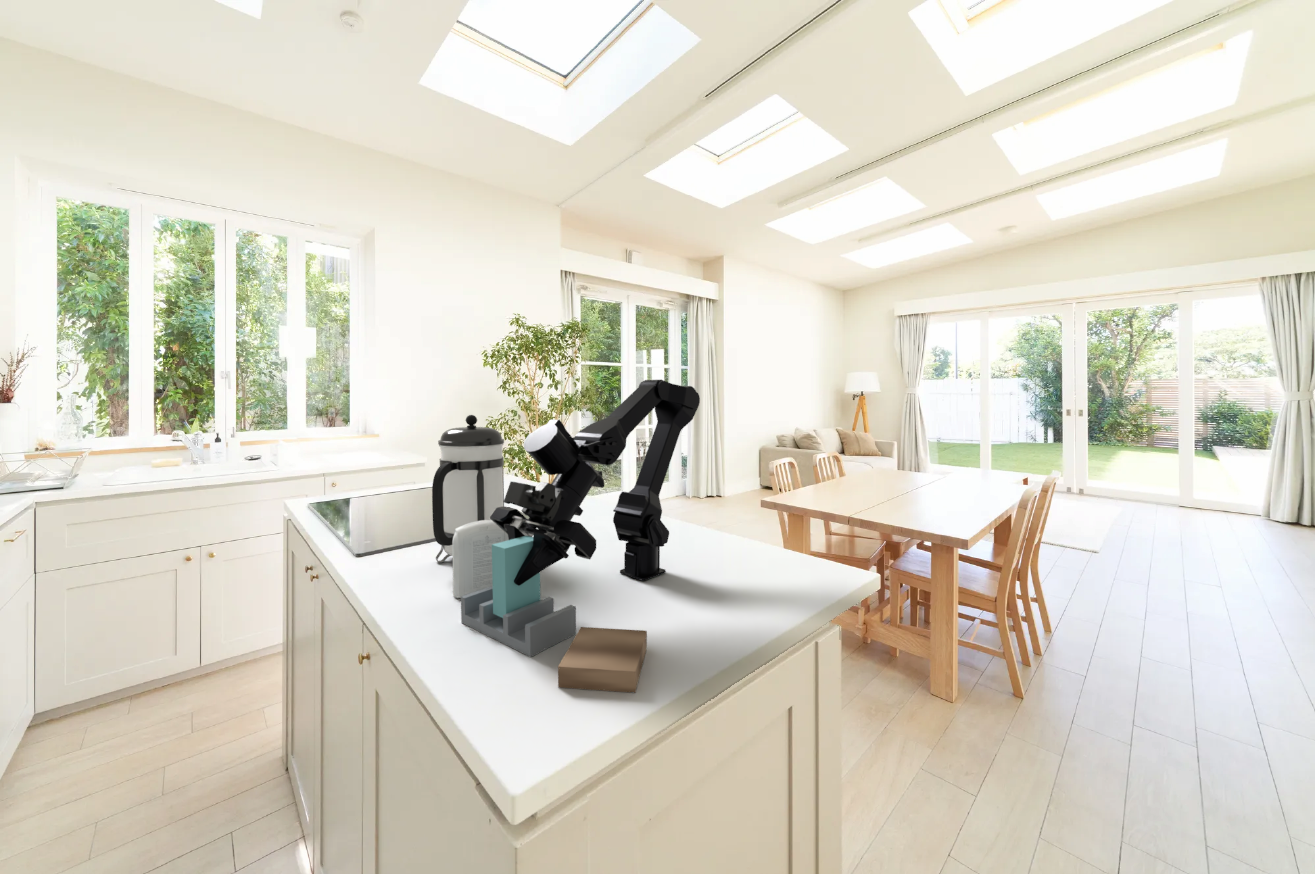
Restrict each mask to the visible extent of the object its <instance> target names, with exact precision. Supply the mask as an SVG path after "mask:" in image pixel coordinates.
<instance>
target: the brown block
mask: <svg viewBox="0 0 1315 874" xmlns="http://www.w3.org/2000/svg"><path fill="white" fill-rule="evenodd" d="M647 633H648V631H647V630H643V629H642V630H641V629H623V628H607V627H606V628H604V627H589V626H588V627H587V626H580V628H579V629H578V632H576V634H575V635H574V636H575V637H574V638H573V640H572V642H571V643H570V645H569V647H568V648H567V650H566V652H565V654H564V655H563V657H562V658H561V661H560V662H559V664H558V666H557V679H558V681H557V683H558V684H557V687H558V688H561V689H562V688H563V689H564V688H565V689H577V690H579V689H580V690H588V691H589V690H591V691H604V692H617V693H618V692H619V693H620V692H621V693H631V692H634V693H633V694H636V691H637V688H638V683H639V680H640V676H641V672H642V668H643V665H644V661H645V656H646V653H647V649H648V647H647V646H648V642H647V641H648V639H647V638H648V636H647V635H648V634H647Z"/></svg>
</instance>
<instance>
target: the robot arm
mask: <svg viewBox="0 0 1315 874" xmlns="http://www.w3.org/2000/svg"><path fill="white" fill-rule="evenodd" d="M700 401H701V399H700V395H699V393H698V392H697V390H696V389H695V388H694V387H693V386H691V385H679V384H676V383H670V382H668V381H666V380H663V379H645V380H643V381H641V382H640V383H639V384H638V387H637V388H636V389H635V390H634V391H633V392H632V393H631V394H630V395H629V396H628V397H627V398H626V399H624V401H622V402H621V403H620V405H618V406H617V407H616V408H615V409H614V410H613V411H612V412H611V413H610V414H608V416H607V417H605V418H603V419H601V420H598V421H596V422H593V423H590V424H589V425H588V426H586V427H584V428H583V429H581V430H579V431H578V432H577V433H576V434H575V435H574V437H573V436H572V435H571V434H570V432H568V430H567V428H566V427H565V425H564V423H563V422H562V421H561V419H549V420H548V422H547V423H546V424H544V425H542V426H539V427H538V428H536V429H534V430H533V432H530V433H529V434H528V435H527V436H526V438H525V439H524V443H523V449H524V450H525V451H526V452H527V453H528V454H529V456H530V457H531V458H532V459H533V460H534V461H535V462H536V463H537V464H538V466H539V467H540V468H541V469H542V470H543V471H544V472H545V473H546V474H547V475H550V476H553V475H555V477H554V478H553V480H552V482H551V483H549V482H543V481H540V482H539V483H537V485H531V484H527V483H523V482H518V481H509V482H510V483H509V486H508V487H507V488H508V489H507V490H506V492H505V493H506V494H505V495H504V504H508V505H509V504H512V505H515V506H517V507H520V508H522V509H521V511H519V510H518V509H517V508H513V507H509V506H505V505H504V506H503V507H498V508H496V510H495V511H494V512H493V514H492V515H491V516H490V519H491V520H492V521H493V522H494V523H496V524H497V525H498V526H499V527H500V528H501V529H502V530H503V531H505V532H506V533H507V534H508V538H509V540H511V539H515V538H519V537H523V536H526V535H527V536H531V537H533V547H532V549H531V550H530V552H529V554H528V556H527V557H526V559H525V561H524V563H523V564H522V566H521V568H520V569H519V571H518V573H517V575H516V577H515V580H514V583H515V584H516V585H518V586H520V585H521V584H523V583H524V582H526V581H527V580H529V579H530V578H532V577H533V576H535V575H536V574H538V573H539V572H540V573H541V572H542V571H544V570H546V569H547V568H549V567H550V566H552V565H554V564H556V563H558V562H559V561H561V560H562V559H568V558H569V557H570V556H569V554H568V553H567V552H568V550H569V549H570V547H571V546H574V553H575V555H576V557H579V558H583V559H587V560H591V559H592V557H593V556H594V553H595V552H596V549H597V539H596V538H595V537H594V536H593V535H592V533H590V532H589V530H587V529H586V527H585V526H584V525H583V524H582V523H581V522H576V521H572V520H573V518H574V516H577V517H581V515H582V514H583V512H584V510H583V509H582V507H581V505H582V503H583V502H584V500H585V499H586V497H587V495H588V493H589V492H590V491H591V489H592V487H594V488H601V489H602V488H603V489H604V487H605V480H604V478H603V471H601V470H596V469H595V468H594V466H593V465H592V464H594V465H601V466H602V465H604V466H610V465H613V464H614V463H616V462H617V460H618V459H619V457H620V456H621V454H622V453H623V452H624V450H625V448H626V447H627V438H628V437H629V436H630V434H631V433H632V432H633V431H634V429H635V428H636V427H637V426H639V424H641V423H642V421H643V420H644V419H645V418H646V417H647V416H649V414H650V413H651V412H652V411H653V410H654V412H655V415H656V416H655V417H656V422H657V423H656V426H655V428H654V431H653V433H652V437H651V439H650V443H649V445H648V448H647V450H646V454H645V457H644V459H643V462H642V465H641V468H640V471H639V473H638V477H637V479H636V481H635V485H634V487H633V488H632V489H631V490H629V491H621V492H620V494H619V495H618V500H617V503H616V506H615V507H614V508H613V512H614V514H613V517H612V522H613V525H614V527H615V532H616V534H617V539H618V541H624V542H625V551H624V555H623V556H624V568H623V569H620V570H619V574H622V575H623V576H624V575H625V576H628V577H630V578H633V579H636V580H639V581H642V582H644V581H648V580H649V579H652V578H655V577H657V576H661V575H663V574H666V572H667V571H666V569H665V568H661V567H660V565H661V564H660V563H661V562H660V559H661V558H660V553H661V551H660V549H661V548H662V547H665V544H668V541H669V536H670V531H669V529H668V528H667V527H666V525H665V524H664V523H663V521H662V520H661V519H662V513H663V509H662V504H661V500H660V494H661V490H662V487H663V484H664V481H665V478H666V475H667V472H668V469H669V467H670V464H671V460H672V458H673V455H674V452H675V449H676V447H677V446H676V445H677V442H678V440H679V437H680V434H681V431H682V430H683V429H684V428H685V427H686V426H687V425H689V424H690V422H692V420H693V419H694V417H695V415H696V412H697V410H698V408H699V406H700ZM522 513H523V514H522ZM525 516H528V518H527V517H525ZM660 547H661V548H660Z"/></svg>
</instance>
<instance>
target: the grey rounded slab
mask: <svg viewBox="0 0 1315 874" xmlns="http://www.w3.org/2000/svg"><path fill="white" fill-rule="evenodd" d="M507 540H509V538H508V534H507V533H506V532H505V531H503V530H502V529H501V528H500V527H499V526H498V525H497V524H496V523H494V522H493V521H492V520H482V521H476V522H472V523H468V524H465V525H463V526H460V527H458V528H456V529H455V530H454V536H453V556H452V594H453V597H454V598H456V599H461V596H464V595H467V594H470V593H473V592H476V591H479V590H482V589H485V588H488V587H490V586H493V582H492V544H496V543H500V542H504V541H507Z"/></svg>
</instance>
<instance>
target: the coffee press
mask: <svg viewBox="0 0 1315 874" xmlns="http://www.w3.org/2000/svg"><path fill="white" fill-rule="evenodd" d="M464 421H465V423H466V424H467V426H466V427H465V426H462V427H454V428H449V429H448V430H445V431H444V432H443V433H442V434H441V436H440V439H439V440H438V441H437V442H438V444H437V445H438V447H440V458H439V466H438V468H437V469H436V471H435V473H434V476H433V480H432V488H431V491H432V493H431V497H432V498H431V501H432V504H431V506H432V508H431V509H432V529H433V531H432V532H433V536H434V539H435V541H436V543H437V544H438V545H439V546H441V548H440V550H439V552H438V553H437V554H436V556H435V560H436V562H437V563H438V564H443V563H444V562H445V561H446V560H447V559H448V558H449V557H453V536H454V530H455V529H456V528H458V527H460V526H463V525H465V524H468V523H472V522H476V521H482V520H491V519H490V516H491V515H492V514H493V512H494V511H495V510H496V508H498V507H503V506H505V503H504V499H505V494H504V493H505V491H504V490H505V488H504V486H505V485H504V482H505V481H504V465H505V464H504V462H505V461H504V460H505V459H504V456H503V446H504V444H505V439H504V438H503V437H502V434H501V433H500V431H499V430H496V429H495V428H492V427H488V426H487V427H486V426H485V427H483V426H477V425H476V424H477V422H478V419H477V417H476V415H474V414H468V415H467V416H466V418H465V420H464ZM443 552H445V554H446V555H445V556H444V557H443V558H442V559H441V560H439V558H440V556H441V555H442V554H443Z"/></svg>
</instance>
